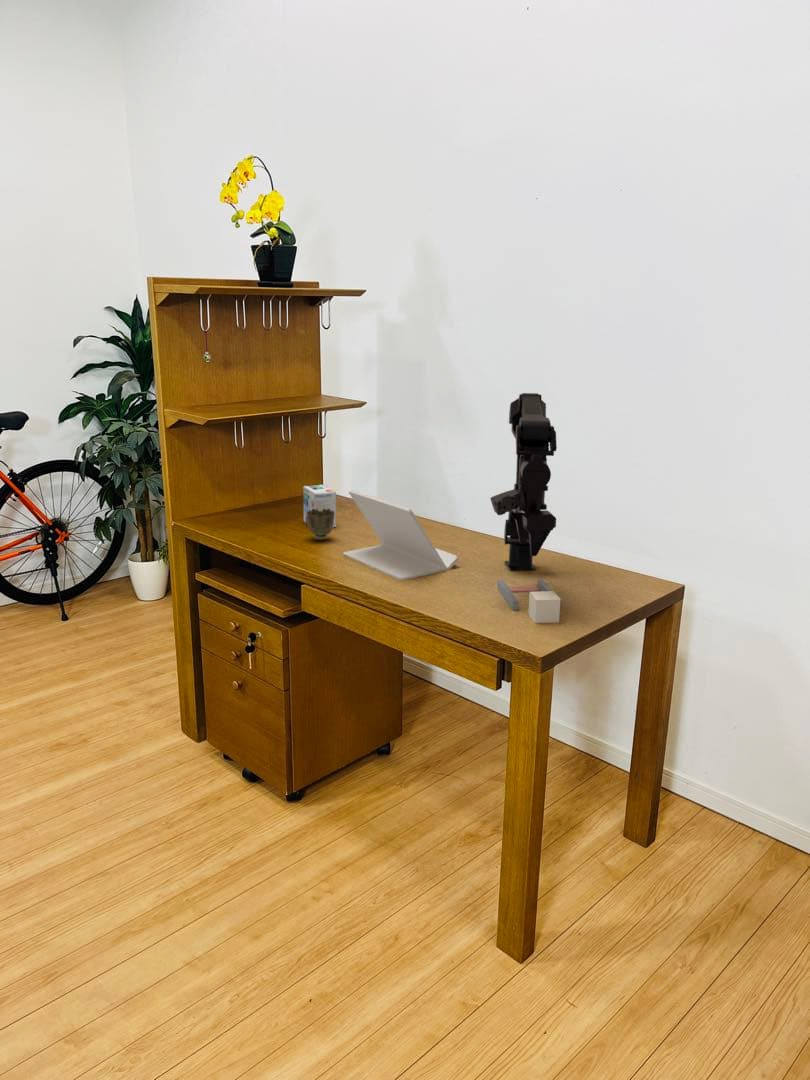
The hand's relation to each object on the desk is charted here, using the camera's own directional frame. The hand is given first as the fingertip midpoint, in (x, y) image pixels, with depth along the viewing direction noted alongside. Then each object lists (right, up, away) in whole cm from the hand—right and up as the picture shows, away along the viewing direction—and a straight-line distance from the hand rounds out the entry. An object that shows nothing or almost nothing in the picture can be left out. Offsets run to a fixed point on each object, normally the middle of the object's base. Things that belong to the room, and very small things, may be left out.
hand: (528, 549), depth 178 cm
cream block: (+2, -14, -10) cm, 17 cm away
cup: (-49, +2, +44) cm, 66 cm away
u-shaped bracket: (0, -11, +1) cm, 11 cm away
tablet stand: (-28, -3, +26) cm, 39 cm away
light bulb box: (-51, +6, +59) cm, 79 cm away
